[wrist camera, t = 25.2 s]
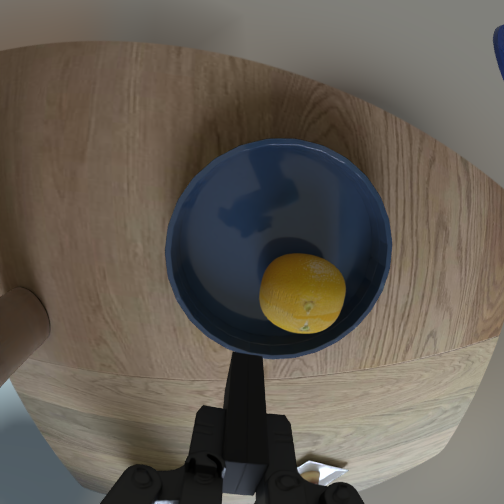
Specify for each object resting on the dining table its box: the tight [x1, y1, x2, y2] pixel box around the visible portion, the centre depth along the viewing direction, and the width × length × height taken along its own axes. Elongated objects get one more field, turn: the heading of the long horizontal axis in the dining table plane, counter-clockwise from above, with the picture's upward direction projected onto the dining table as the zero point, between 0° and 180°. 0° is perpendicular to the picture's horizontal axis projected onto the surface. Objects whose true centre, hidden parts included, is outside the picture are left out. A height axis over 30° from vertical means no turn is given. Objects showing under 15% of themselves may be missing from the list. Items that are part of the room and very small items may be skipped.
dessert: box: [297, 460, 349, 486], centre depth 43 cm, size 12×12×5 cm
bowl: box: [165, 138, 392, 359], centre depth 30 cm, size 23×23×5 cm
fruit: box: [259, 253, 346, 334], centre depth 29 cm, size 9×8×8 cm
